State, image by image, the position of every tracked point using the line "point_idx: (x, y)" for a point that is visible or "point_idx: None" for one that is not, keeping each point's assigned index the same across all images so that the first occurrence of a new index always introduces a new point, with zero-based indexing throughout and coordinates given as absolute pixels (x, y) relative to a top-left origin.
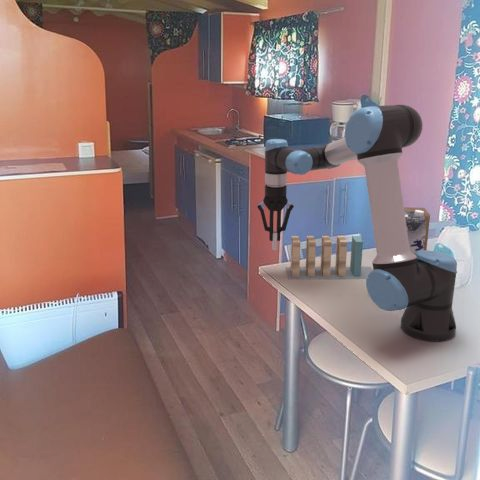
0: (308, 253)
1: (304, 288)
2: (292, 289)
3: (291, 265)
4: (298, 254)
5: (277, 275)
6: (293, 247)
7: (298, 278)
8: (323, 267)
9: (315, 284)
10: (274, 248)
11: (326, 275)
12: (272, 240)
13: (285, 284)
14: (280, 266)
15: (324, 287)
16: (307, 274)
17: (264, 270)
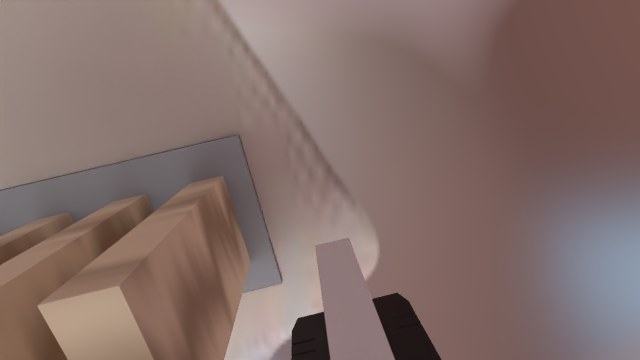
0: (56, 265)
1: (128, 40)
2: (189, 12)
3: (234, 249)
4: (135, 233)
5: (302, 188)
6: (148, 253)
7: (187, 158)
8: (31, 237)
9: (85, 110)
10: (337, 249)
11: (48, 218)
12: (373, 302)
13: (241, 77)
14: (307, 295)
15: (25, 77)
16: (150, 211)
17: (372, 234)
